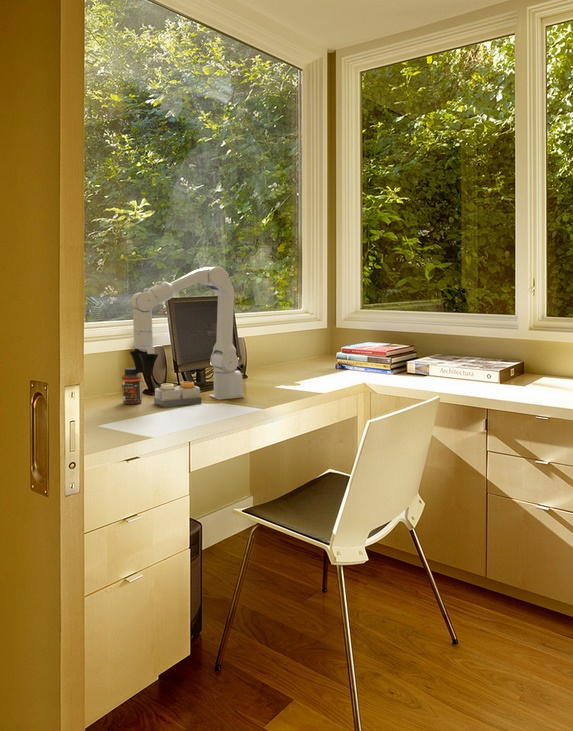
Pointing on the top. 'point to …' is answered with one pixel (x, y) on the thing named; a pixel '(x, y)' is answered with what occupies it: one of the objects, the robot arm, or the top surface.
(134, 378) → the supplement bottle
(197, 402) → the knob mount
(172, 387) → the cream knob
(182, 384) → the orange knob
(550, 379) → the top surface
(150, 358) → the robot arm
